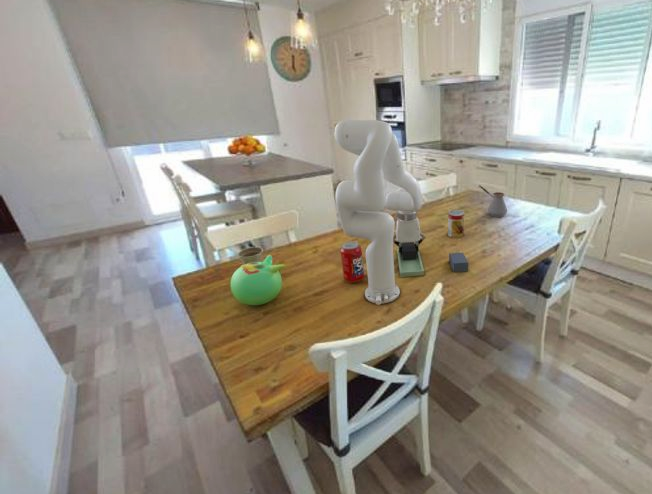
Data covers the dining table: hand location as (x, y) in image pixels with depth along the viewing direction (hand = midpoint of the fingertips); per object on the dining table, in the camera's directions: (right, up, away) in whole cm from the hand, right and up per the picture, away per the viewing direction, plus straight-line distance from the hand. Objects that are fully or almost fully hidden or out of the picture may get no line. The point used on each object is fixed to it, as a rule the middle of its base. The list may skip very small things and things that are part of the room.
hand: (408, 253), depth 142 cm
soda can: (-21, -9, -15) cm, 28 cm away
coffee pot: (+48, +22, +52) cm, 73 cm away
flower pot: (-64, -7, -8) cm, 65 cm away
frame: (+1, -4, -4) cm, 6 cm away
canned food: (+23, +8, +22) cm, 33 cm away
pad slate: (+21, -5, -7) cm, 23 cm away
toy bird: (-52, -15, -27) cm, 60 cm away
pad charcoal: (0, -1, 0) cm, 1 cm away
